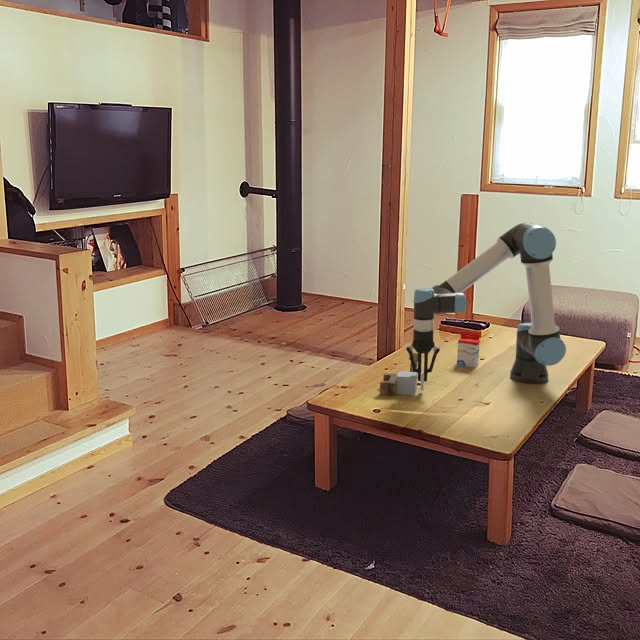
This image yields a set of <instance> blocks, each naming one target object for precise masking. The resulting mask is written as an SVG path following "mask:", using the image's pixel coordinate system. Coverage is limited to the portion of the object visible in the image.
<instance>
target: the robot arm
mask: <svg viewBox="0 0 640 640" xmlns="http://www.w3.org/2000/svg"><path fill="white" fill-rule="evenodd" d="M556 247H557V239H556V237H555V234H554V232H553V231H552V230H550V229H549V228H548V227H546V226H544V225H541V224H535V223H531V222H522V223H518V224H517V225H515V226H513V227H512V228H510V229H509V230H507V231H506V232H504V233H503V234H502V235H500V236H499V237H498V238H497V240H496V242H495V243H494V244H493V245H492V246H490V247H489V248H488V249H486V250H485V251H483V252H482V253H481V254H479V255H478V256H477V257H476V258H474V259H472V261H470V262H469V263H468V264H466V265H465V266H463V267H462V268H461V269H459V270H458V271H457V272H455V273H454V274H453V275H451V276H450V277H449V278H447V279H446V280H444V281H443V282H442V283H441V284H436V285H433V286H432V287H419V288H416V289H415V290H414V293H413V335H412V336H413V337H412V342H411V344H410V345H407V346H406V351H407V353H408V355H409V357H410V360H409V361H410V365H411V364H412V368H413V371H414V372H417V382H420V391H424V390H425V383H426V382H427V381H428V374H429V373H432V371H433V368H434V365H435V361H436V358H437V356H438V354H439V353H440V350H441V348H440V347H439V346H437V345H435V341H434V330H433V329H434V328H435V326H434V324H435V323H434V321H435V320H434V319H435V315H436V314H437V315H438V314H458V313H464V312H466V308H467V297H466V294H464V293H463V292H464V291H466V290H467V289H469V288H470V287H471V286H473V285H475V284H476V283H477V282H478V281H480V280H481V279H482V278H483V277H485V276H486V275H488V274H489V273H490V272H492V271H493V270H494V269H496V268H497V267H498V266H500V265H501V264H503V263H504V262H505V261H506V260H508V259H513V258H515V257H516V256H518V255H520V256H519V257H520V263H521V264H522V265H523V266H524V267H525V271H526V272H525V273H526V282H527V283H526V285H527V292H528V301H529V312H530V321H531V322H523V323H519V324H518V325H517V328H516V329H517V330H516V342H515V343H516V344H515V345H516V346H515V359H514V362H513V364H512V367H511V369H510V371H509V378H510V379H511V380H513V381H515V382H517V383H523V384H527V385H528V384H529V385H530V384H531V385H532V384H533V385H535V384H537V385H538V384H544V383H547V382H549V371H548V368H547V367H552V366H555V365H557V364H559V363H560V362H561V361H562V360H563V359H564V358H565V356H566V351H567V347H566V344H565V342H564V341H563V339H561V330H560V327H559V326H558V325H557V324H556V323H555V322H556V321H555V312H554V302H553V292H552V282H551V271H550V270H551V269H550V263H552V261H553V260H554V258H553V257H554V256H553V252H554V251H555V250H556ZM413 350H414V351H415V353H416V354H418V362H417V367H416V363H415V359H414V355H413V353H414V352H413ZM432 350H433V351H432ZM431 351H432V352H433V354H432V358H431V361H430V365H428V364H429V353H430V352H431ZM422 354H424V356H423V357H424V358H422ZM422 359H424V360H423V371H422ZM428 366H429V368H428Z"/></svg>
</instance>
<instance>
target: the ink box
mask: <svg viewBox="0 0 640 640" xmlns="http://www.w3.org/2000/svg"><path fill="white" fill-rule="evenodd" d="M480 334H481V333H480V332H474V331H465V330H461V331H460V337H459V339H458V342H457V357H456V358H457V359H456V366H461V367H467V368H468V367H470V368H477V367H478V366H479V360H480V358H479V357H480V354H479V353H480V343H481V340H480Z"/></svg>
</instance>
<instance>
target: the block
mask: <svg viewBox="0 0 640 640" xmlns="http://www.w3.org/2000/svg"><path fill="white" fill-rule="evenodd" d="M397 374H398V375H397V389H396V395H404V396H405V395H406V396H416V393H417V390H418V388H417V387H418V373H417V372H410V371H401V370H400V371H398V372H397Z"/></svg>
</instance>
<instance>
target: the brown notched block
mask: <svg viewBox="0 0 640 640" xmlns="http://www.w3.org/2000/svg"><path fill="white" fill-rule="evenodd" d="M397 375H398V373H387V372H386V373H383V378H382V379H383V380H380V382H379V395H380V396H387V397H388V396H390V397H396V396H397V394H396V389H397Z"/></svg>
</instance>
